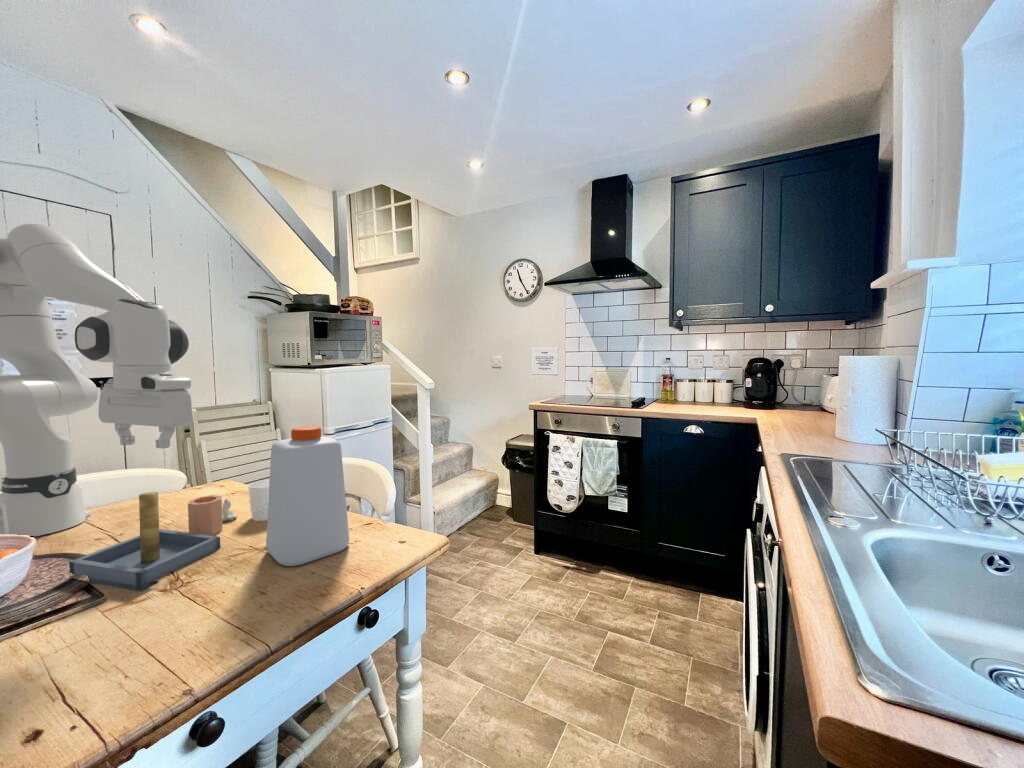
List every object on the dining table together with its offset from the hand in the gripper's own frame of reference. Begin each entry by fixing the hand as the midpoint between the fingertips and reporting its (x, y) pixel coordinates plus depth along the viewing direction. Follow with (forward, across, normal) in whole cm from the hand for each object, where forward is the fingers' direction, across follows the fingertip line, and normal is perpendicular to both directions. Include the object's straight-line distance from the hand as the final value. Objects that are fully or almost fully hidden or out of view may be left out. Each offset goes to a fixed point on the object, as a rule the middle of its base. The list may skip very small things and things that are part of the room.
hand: (145, 446), depth 83 cm
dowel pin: (+24, 0, 0) cm, 24 cm away
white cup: (+25, +4, +26) cm, 37 cm away
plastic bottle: (+25, +27, +14) cm, 40 cm away
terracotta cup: (+25, -2, +14) cm, 29 cm away
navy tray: (+25, 0, 0) cm, 25 cm away
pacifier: (+26, -5, +21) cm, 34 cm away
